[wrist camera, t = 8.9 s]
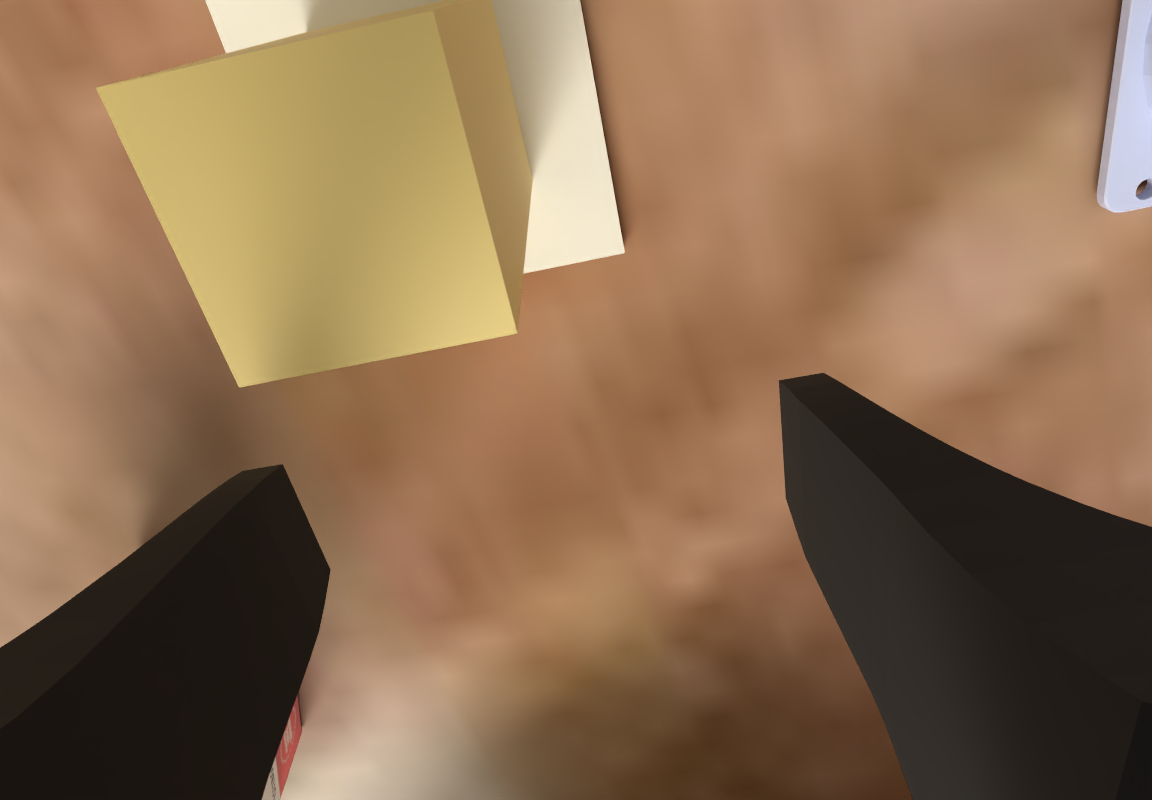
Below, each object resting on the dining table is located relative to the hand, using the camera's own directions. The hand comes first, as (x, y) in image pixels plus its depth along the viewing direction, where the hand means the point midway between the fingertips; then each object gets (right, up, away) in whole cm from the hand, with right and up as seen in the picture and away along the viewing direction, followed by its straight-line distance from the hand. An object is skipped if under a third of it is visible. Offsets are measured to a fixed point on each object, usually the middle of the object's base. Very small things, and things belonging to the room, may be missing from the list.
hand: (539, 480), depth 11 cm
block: (-3, +8, +7) cm, 11 cm away
